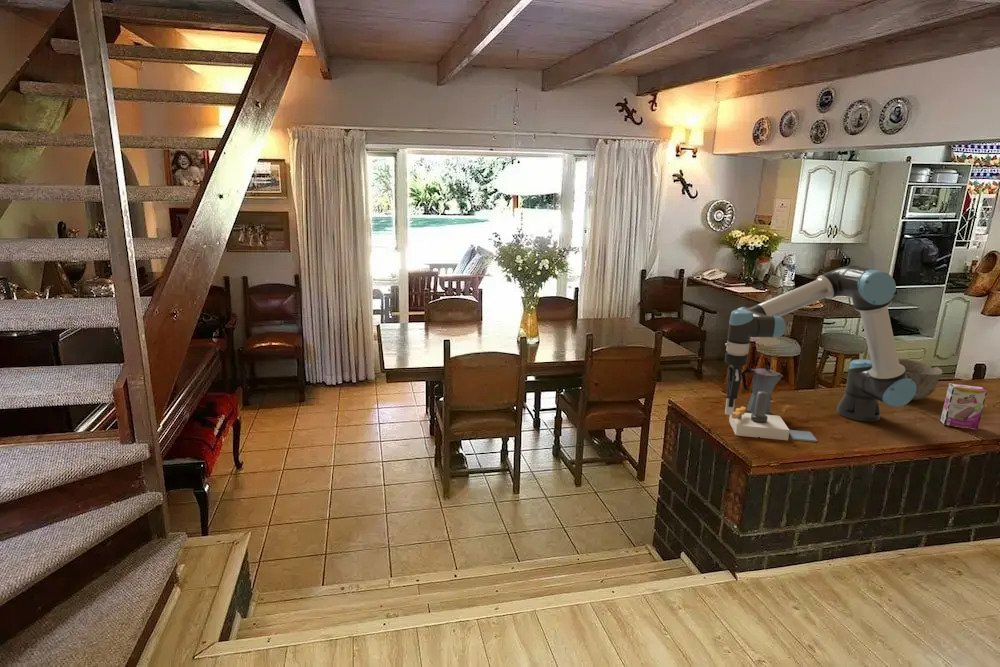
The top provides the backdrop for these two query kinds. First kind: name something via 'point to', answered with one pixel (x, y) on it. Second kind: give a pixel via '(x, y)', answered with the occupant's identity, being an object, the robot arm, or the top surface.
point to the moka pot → (761, 385)
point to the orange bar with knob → (739, 412)
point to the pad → (802, 435)
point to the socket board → (760, 427)
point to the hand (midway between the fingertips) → (729, 414)
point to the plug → (760, 408)
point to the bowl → (921, 377)
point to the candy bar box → (963, 405)
